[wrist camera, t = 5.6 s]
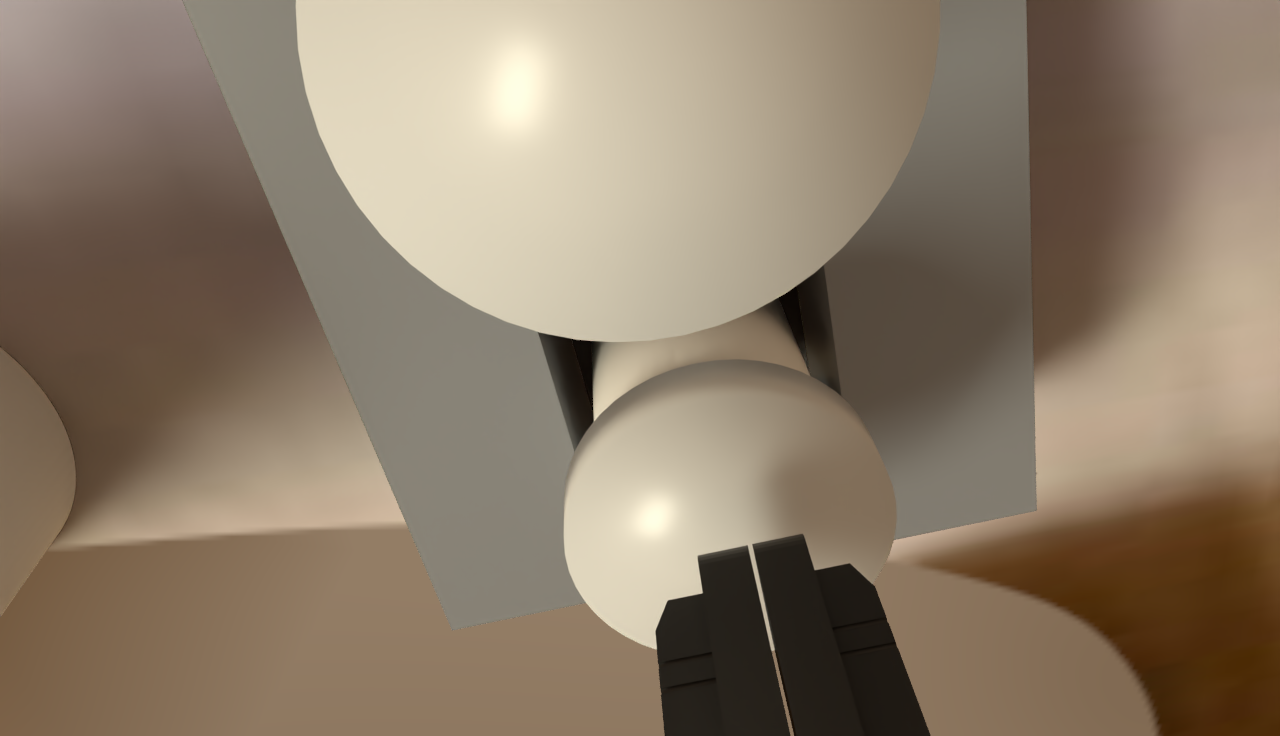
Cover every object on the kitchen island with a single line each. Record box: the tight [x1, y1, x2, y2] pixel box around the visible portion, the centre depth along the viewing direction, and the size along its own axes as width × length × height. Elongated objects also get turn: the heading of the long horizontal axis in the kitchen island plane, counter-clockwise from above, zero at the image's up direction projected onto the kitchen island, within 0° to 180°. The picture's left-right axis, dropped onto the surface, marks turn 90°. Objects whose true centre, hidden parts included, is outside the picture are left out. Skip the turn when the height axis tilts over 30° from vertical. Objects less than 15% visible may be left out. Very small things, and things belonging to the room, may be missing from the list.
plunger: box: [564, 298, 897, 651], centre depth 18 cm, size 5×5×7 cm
